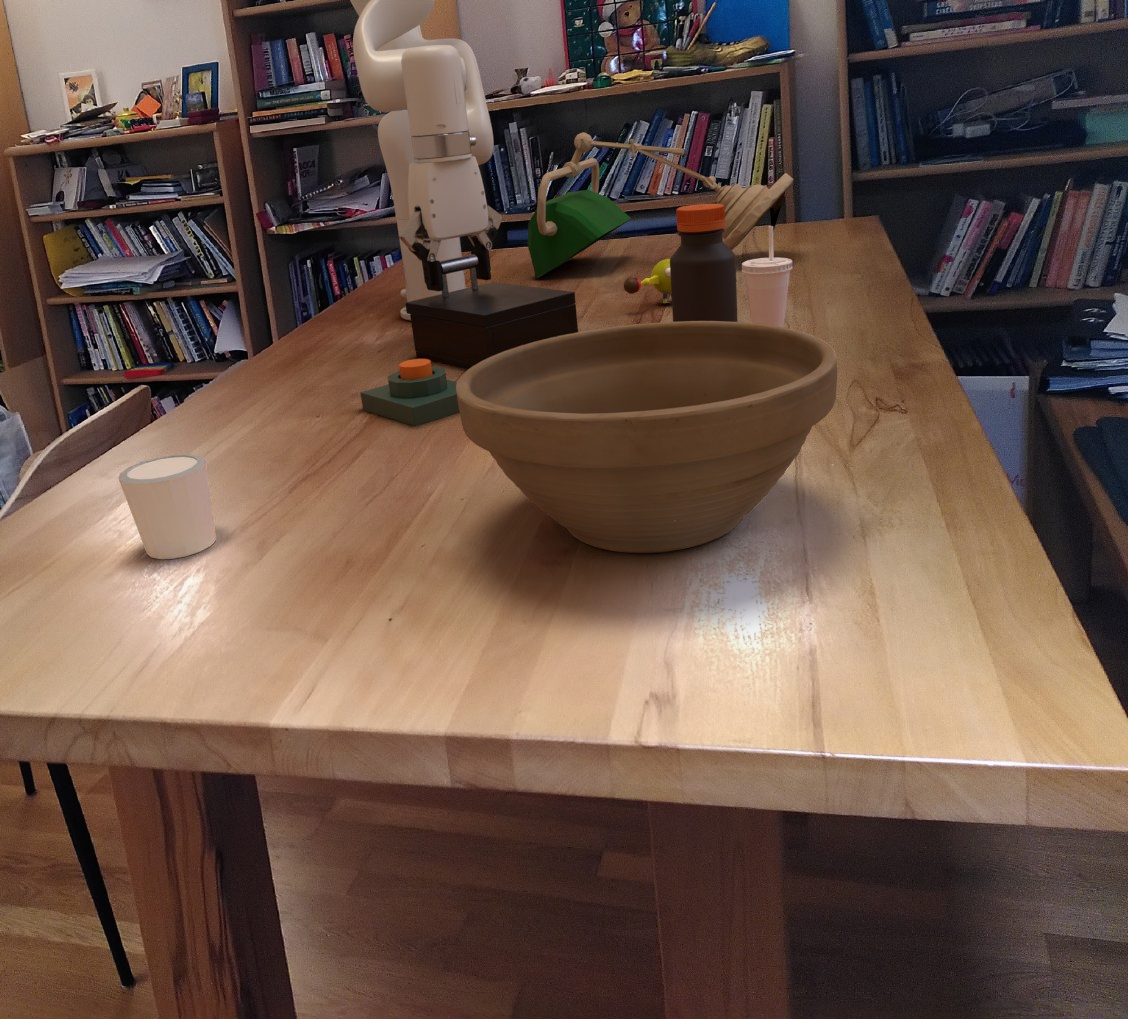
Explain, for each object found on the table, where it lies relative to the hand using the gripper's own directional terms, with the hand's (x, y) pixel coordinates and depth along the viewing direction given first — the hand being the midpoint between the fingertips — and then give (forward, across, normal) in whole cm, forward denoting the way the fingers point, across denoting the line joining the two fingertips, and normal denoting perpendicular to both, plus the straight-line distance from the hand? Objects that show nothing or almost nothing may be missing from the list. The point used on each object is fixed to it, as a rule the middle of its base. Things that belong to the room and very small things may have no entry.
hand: (459, 283), depth 143 cm
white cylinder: (+9, +56, +36) cm, 67 cm away
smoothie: (+9, -24, +34) cm, 42 cm away
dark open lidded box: (+9, 0, +7) cm, 11 cm away
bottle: (+9, 0, +45) cm, 46 cm away
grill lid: (+3, 0, +6) cm, 7 cm away
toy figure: (+9, -34, +7) cm, 36 cm away
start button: (+5, +21, +20) cm, 29 cm away
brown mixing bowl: (+9, +28, +64) cm, 70 cm away
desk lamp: (+9, -59, -18) cm, 62 cm away
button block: (+9, +21, +20) cm, 30 cm away
